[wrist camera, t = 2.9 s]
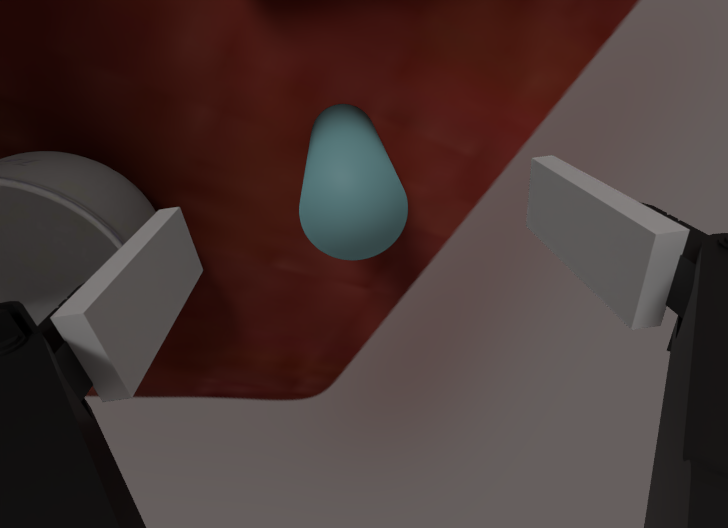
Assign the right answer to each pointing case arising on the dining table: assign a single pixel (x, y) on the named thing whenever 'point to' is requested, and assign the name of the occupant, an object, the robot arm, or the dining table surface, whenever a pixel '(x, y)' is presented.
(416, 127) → the dining table surface
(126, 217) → the teacup
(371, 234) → the peg
